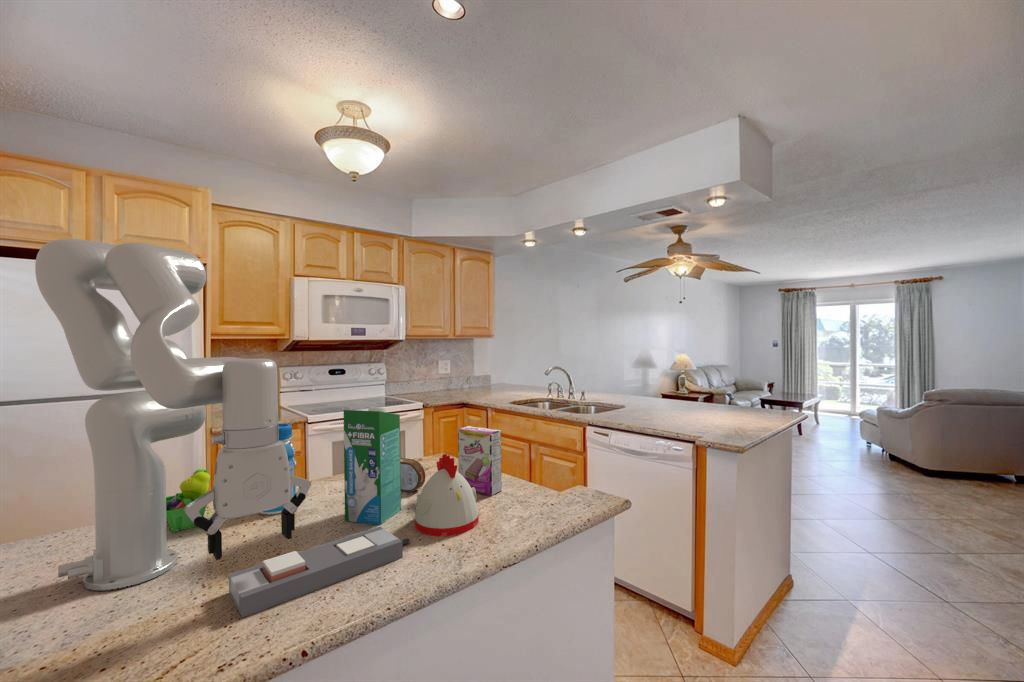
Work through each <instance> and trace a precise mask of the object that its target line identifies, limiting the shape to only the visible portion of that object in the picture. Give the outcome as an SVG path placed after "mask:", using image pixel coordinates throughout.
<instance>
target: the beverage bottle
mask: <svg viewBox="0 0 1024 682" xmlns="http://www.w3.org/2000/svg"><path fill="white" fill-rule="evenodd" d="M278 426H279V441H282V442H284V443H285V447H286V451H287V456H288V462H289V470H290V475H292V476H296V469H297V468H296V467H297V459H296V458H295V455H296V453H297V452H296V449H295V446H294V444H293V443H292V441H290V440H291V439H292V438H293V437H292V436H293V427H292V424H290V423H278ZM296 489H297V486H296V485H292V484H291V499H292V497H293V496H294V495H295V494H296V493H297V490H296ZM282 510H284V507H283V506H282V507H279V508H275V509H271V510H267V511H263V512H259V513H260V514H261V515H262V514H263V515H266V514H267V515H270V516H271V514H272V515H278V514H281V512H282Z"/></svg>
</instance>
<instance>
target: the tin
mask: <svg viewBox="0 0 1024 682" xmlns="http://www.w3.org/2000/svg"><path fill="white" fill-rule="evenodd" d="M400 476H401V492H408V493H413V492H415V491H417V490H418V489H421V488H422V487H424V485H425V482H426V470H425V469H424V467H423V465H422V464H421V463H420V462H419V461H418V460H416V459H412V458H405V457H400Z"/></svg>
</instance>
